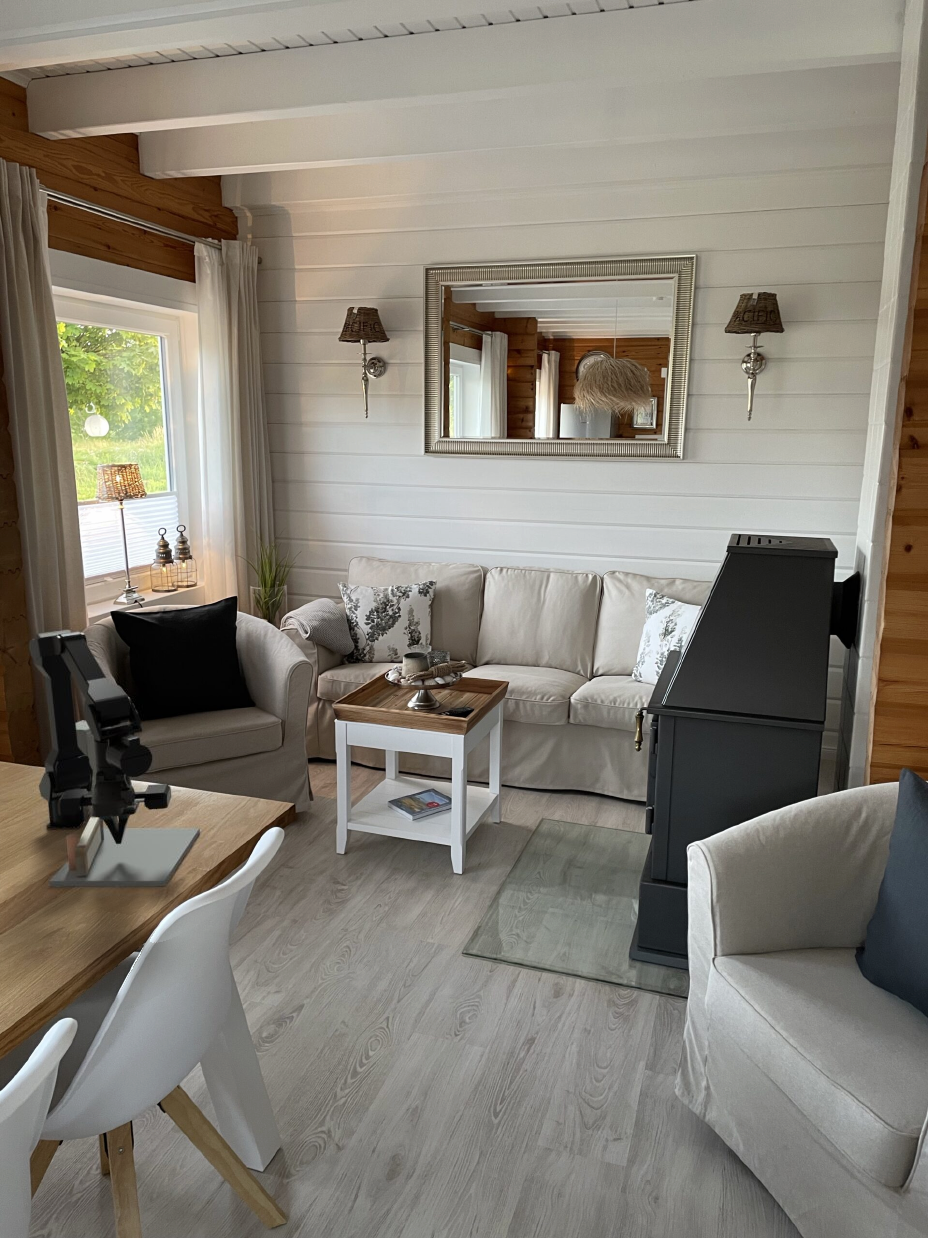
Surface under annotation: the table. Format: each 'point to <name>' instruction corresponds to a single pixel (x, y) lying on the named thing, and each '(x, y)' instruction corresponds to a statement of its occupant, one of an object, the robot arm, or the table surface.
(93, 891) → the table surface
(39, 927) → the table surface
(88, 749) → the skincare box
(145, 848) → the board
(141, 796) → the robot arm
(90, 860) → the gate
